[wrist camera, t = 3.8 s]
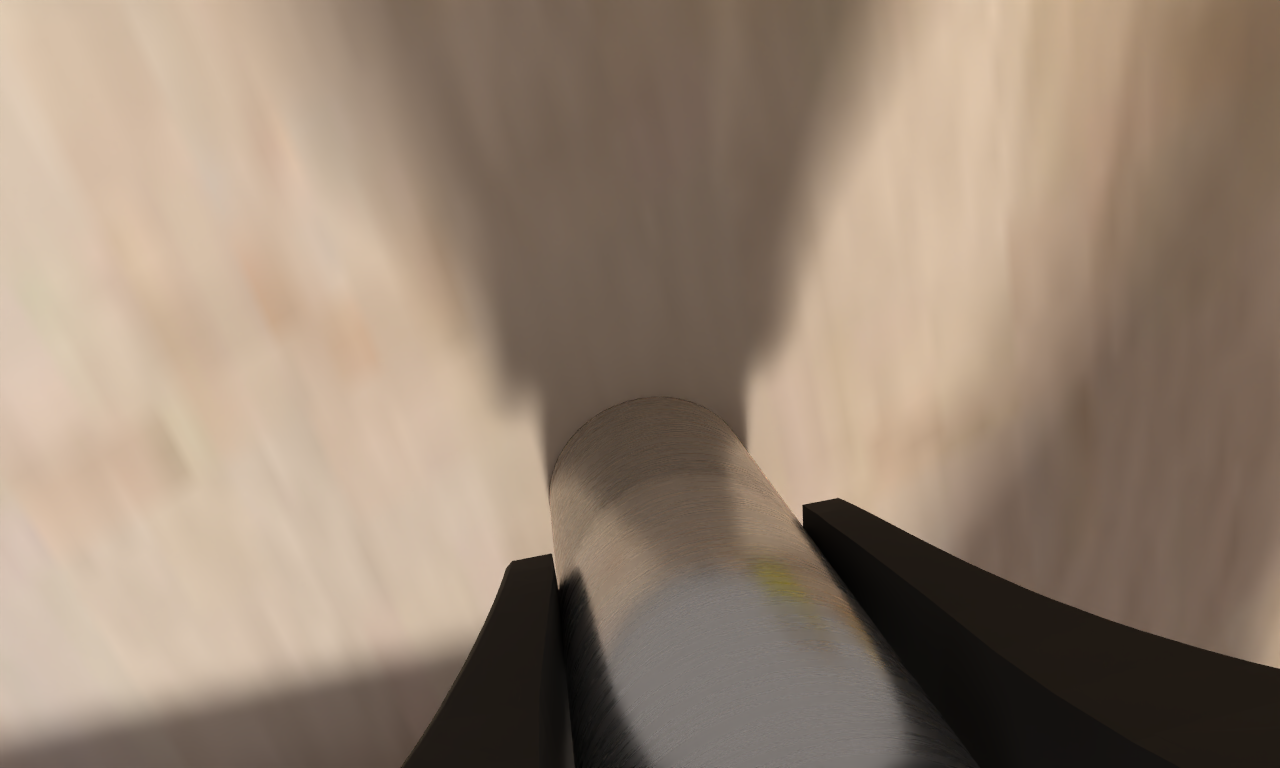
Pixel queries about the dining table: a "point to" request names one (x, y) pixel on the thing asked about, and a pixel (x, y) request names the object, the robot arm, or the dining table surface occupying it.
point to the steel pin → (715, 614)
